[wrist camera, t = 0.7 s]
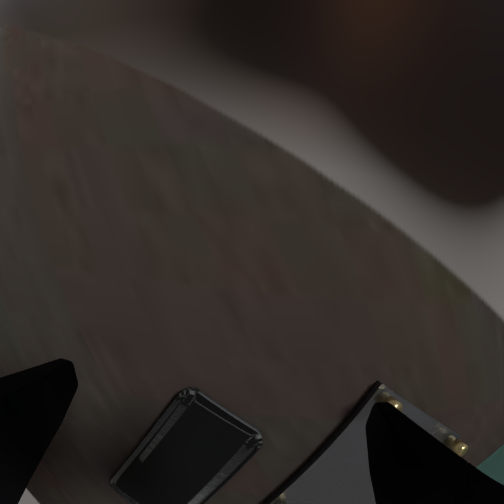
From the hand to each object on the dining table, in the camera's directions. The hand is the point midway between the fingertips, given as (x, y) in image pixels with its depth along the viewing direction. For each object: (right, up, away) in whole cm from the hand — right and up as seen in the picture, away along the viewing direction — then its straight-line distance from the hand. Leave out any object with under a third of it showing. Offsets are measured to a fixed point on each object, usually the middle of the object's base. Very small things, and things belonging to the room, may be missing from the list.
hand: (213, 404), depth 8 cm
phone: (-5, -14, +15) cm, 21 cm away
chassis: (+11, -16, +13) cm, 23 cm away
